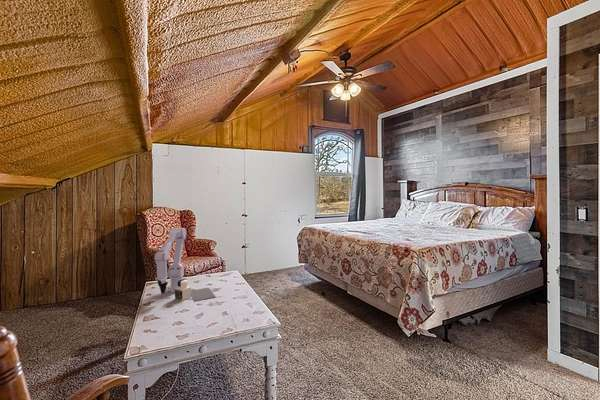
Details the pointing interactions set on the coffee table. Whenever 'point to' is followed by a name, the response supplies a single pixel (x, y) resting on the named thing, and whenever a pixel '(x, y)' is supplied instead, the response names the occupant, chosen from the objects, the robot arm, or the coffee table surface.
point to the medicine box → (182, 290)
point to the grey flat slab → (202, 294)
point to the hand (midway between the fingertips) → (162, 291)
